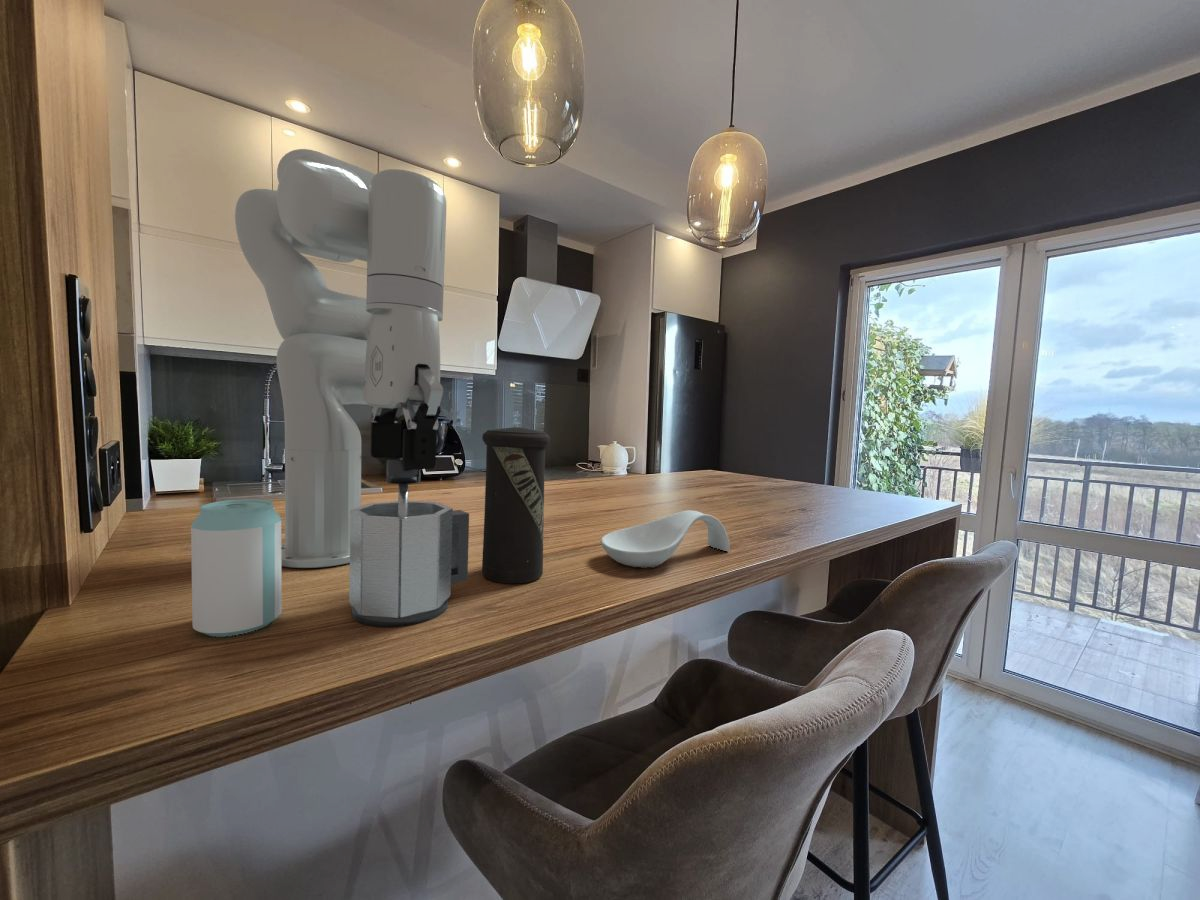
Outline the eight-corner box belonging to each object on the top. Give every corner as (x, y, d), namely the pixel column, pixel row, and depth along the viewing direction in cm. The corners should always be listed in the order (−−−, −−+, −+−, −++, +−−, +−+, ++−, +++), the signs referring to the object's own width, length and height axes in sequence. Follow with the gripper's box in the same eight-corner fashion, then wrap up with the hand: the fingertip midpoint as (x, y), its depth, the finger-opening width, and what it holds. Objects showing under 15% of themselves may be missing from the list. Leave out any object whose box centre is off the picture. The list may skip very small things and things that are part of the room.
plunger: (359, 576, 54) (360, 457, 53) (420, 566, 59) (422, 456, 58) (380, 595, 49) (381, 463, 48) (445, 582, 54) (447, 461, 53)
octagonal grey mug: (340, 603, 55) (341, 505, 54) (444, 582, 63) (446, 497, 62) (368, 635, 47) (369, 522, 47) (482, 607, 55) (485, 510, 55)
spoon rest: (631, 581, 67) (634, 529, 67) (585, 558, 77) (587, 512, 77) (745, 558, 81) (748, 515, 80) (694, 541, 90) (696, 503, 90)
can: (172, 634, 46) (170, 507, 45) (243, 606, 53) (242, 495, 52) (233, 645, 44) (232, 513, 44) (298, 615, 51) (298, 501, 50)
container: (511, 590, 61) (516, 429, 60) (465, 573, 66) (469, 425, 65) (558, 574, 68) (563, 429, 66) (513, 560, 73) (517, 426, 72)
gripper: (343, 304, 56) (341, 454, 57) (399, 282, 43) (394, 476, 45) (410, 315, 61) (406, 453, 62) (477, 299, 48) (470, 472, 50)
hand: (401, 462), depth 54 cm, fingers open, 9 cm apart
